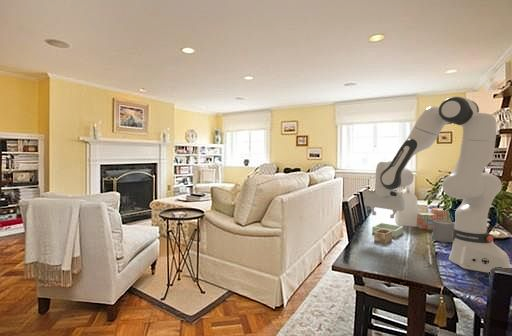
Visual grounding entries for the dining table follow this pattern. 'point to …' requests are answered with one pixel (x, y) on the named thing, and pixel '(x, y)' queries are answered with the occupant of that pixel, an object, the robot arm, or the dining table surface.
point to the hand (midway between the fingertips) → (382, 216)
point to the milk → (408, 209)
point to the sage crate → (394, 228)
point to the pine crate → (383, 236)
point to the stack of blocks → (431, 218)
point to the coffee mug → (443, 230)
